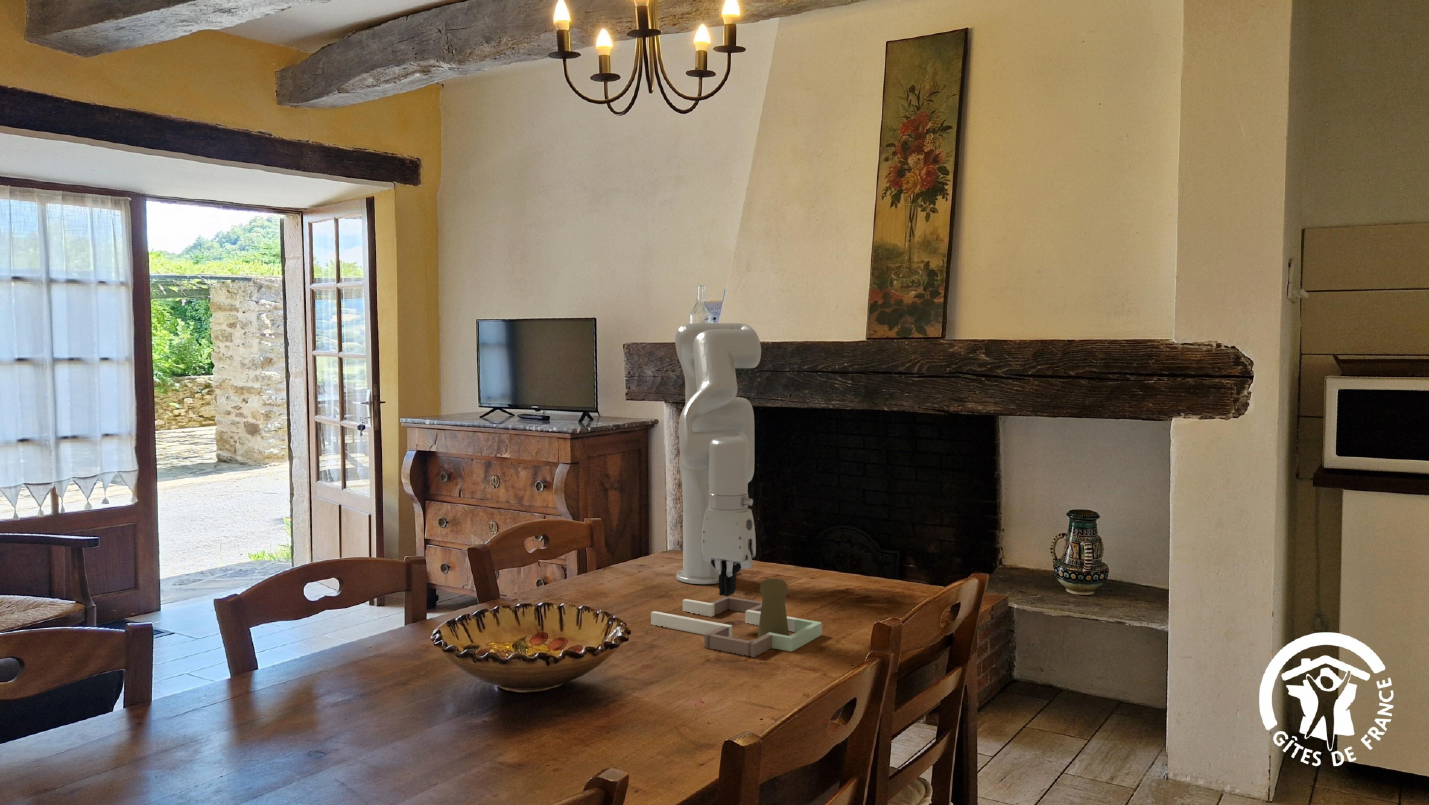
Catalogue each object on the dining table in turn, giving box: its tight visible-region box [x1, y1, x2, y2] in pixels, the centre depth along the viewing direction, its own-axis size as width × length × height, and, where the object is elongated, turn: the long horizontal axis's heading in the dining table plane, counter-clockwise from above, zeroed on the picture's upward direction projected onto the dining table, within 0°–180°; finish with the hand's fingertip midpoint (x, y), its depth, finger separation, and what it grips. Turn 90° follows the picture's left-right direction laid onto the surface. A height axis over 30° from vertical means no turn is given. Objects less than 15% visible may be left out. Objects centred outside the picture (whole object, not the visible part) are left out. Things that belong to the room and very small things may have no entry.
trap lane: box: [650, 596, 823, 658], centre depth 190 cm, size 25×31×2 cm
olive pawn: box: [757, 578, 790, 638], centre depth 185 cm, size 6×6×11 cm
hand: (727, 594), depth 192 cm, fingers closed
